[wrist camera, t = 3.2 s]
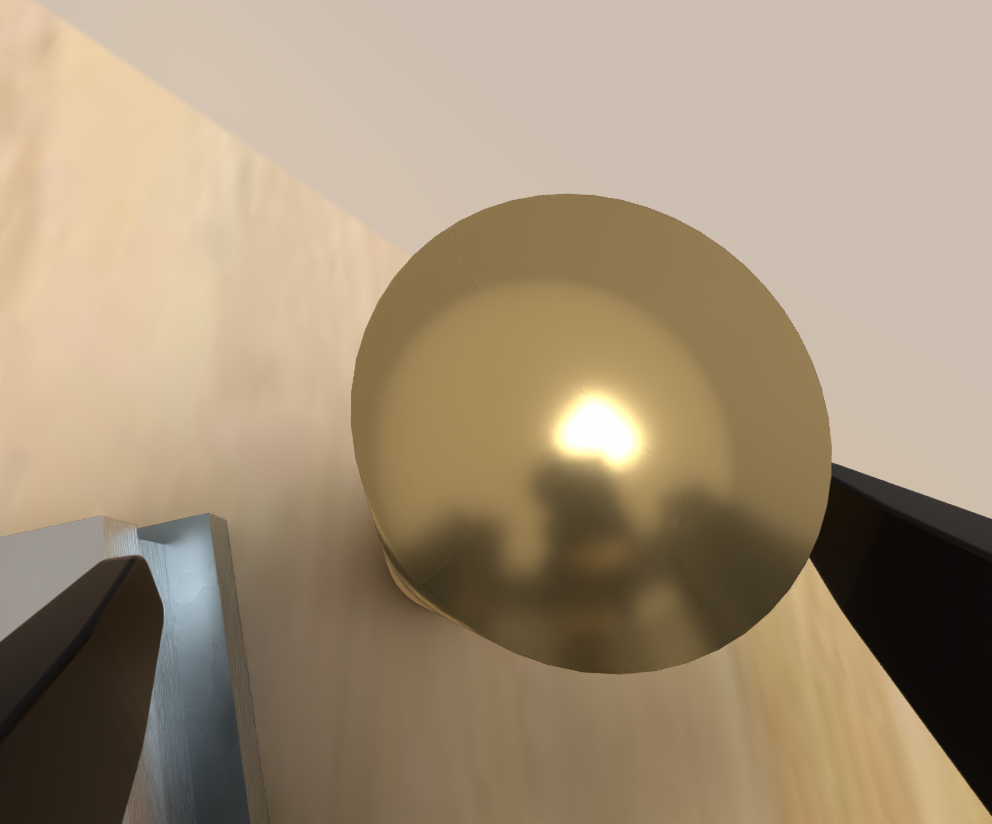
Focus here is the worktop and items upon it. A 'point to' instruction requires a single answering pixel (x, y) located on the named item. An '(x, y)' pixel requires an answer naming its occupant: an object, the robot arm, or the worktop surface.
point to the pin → (589, 435)
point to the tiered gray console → (165, 659)
